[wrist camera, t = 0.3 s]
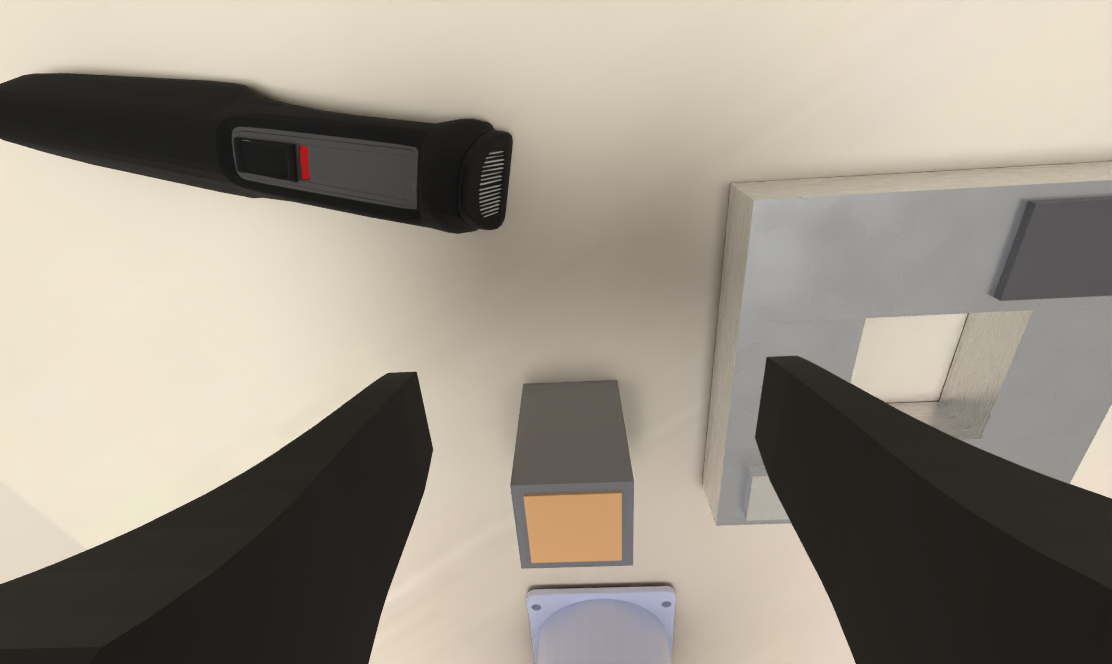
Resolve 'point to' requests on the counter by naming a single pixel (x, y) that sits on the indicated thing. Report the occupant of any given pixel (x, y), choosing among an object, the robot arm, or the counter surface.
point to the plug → (572, 477)
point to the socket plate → (921, 307)
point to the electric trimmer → (266, 147)
